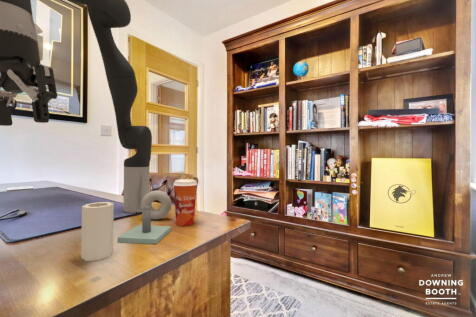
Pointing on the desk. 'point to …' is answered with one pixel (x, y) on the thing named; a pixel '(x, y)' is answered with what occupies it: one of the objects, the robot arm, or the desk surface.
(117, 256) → the desk surface
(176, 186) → the paper cup
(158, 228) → the peg stand
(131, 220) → the desk surface
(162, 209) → the donut
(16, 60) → the robot arm
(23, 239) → the desk surface
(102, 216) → the white octagonal tube
